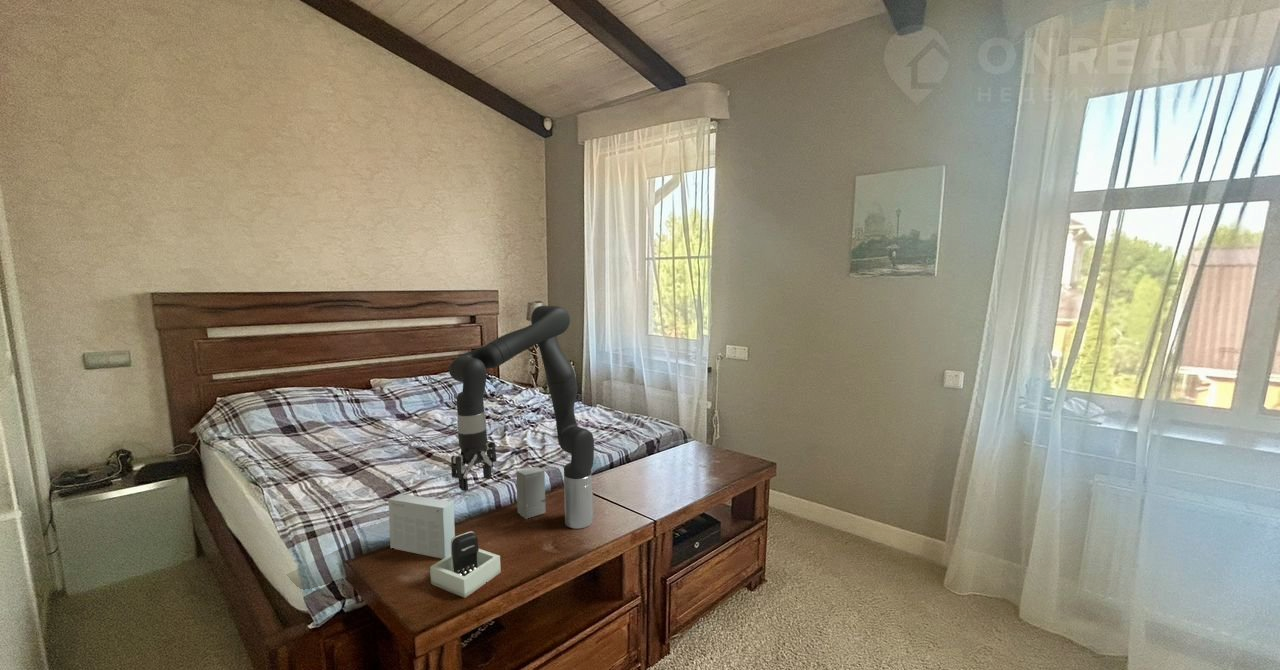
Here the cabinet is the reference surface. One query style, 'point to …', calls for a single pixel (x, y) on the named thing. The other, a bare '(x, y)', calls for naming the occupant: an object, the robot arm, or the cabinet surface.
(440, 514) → the skincare box
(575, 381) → the robot arm
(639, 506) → the cabinet surface
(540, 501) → the skincare box
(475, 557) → the battery charger
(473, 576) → the bin
